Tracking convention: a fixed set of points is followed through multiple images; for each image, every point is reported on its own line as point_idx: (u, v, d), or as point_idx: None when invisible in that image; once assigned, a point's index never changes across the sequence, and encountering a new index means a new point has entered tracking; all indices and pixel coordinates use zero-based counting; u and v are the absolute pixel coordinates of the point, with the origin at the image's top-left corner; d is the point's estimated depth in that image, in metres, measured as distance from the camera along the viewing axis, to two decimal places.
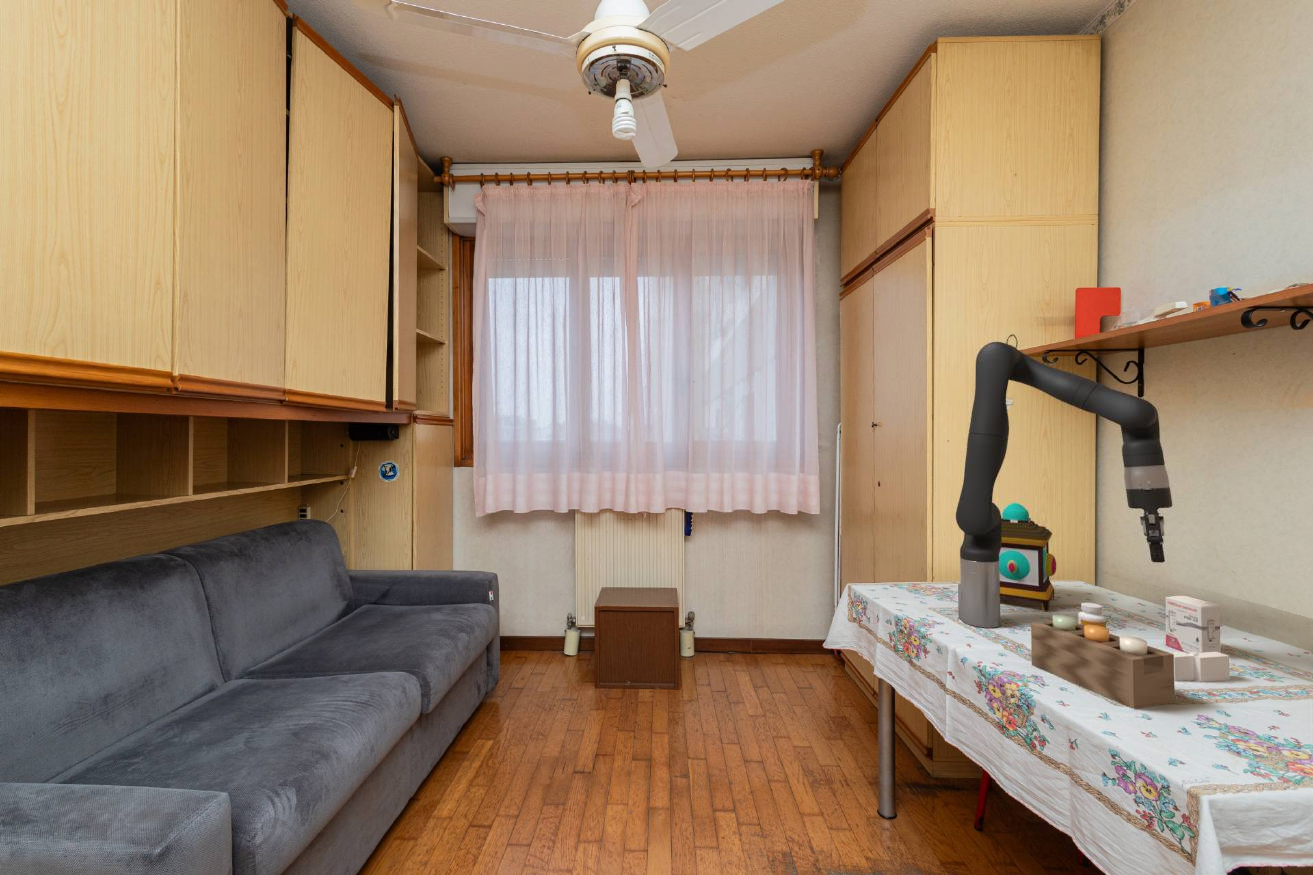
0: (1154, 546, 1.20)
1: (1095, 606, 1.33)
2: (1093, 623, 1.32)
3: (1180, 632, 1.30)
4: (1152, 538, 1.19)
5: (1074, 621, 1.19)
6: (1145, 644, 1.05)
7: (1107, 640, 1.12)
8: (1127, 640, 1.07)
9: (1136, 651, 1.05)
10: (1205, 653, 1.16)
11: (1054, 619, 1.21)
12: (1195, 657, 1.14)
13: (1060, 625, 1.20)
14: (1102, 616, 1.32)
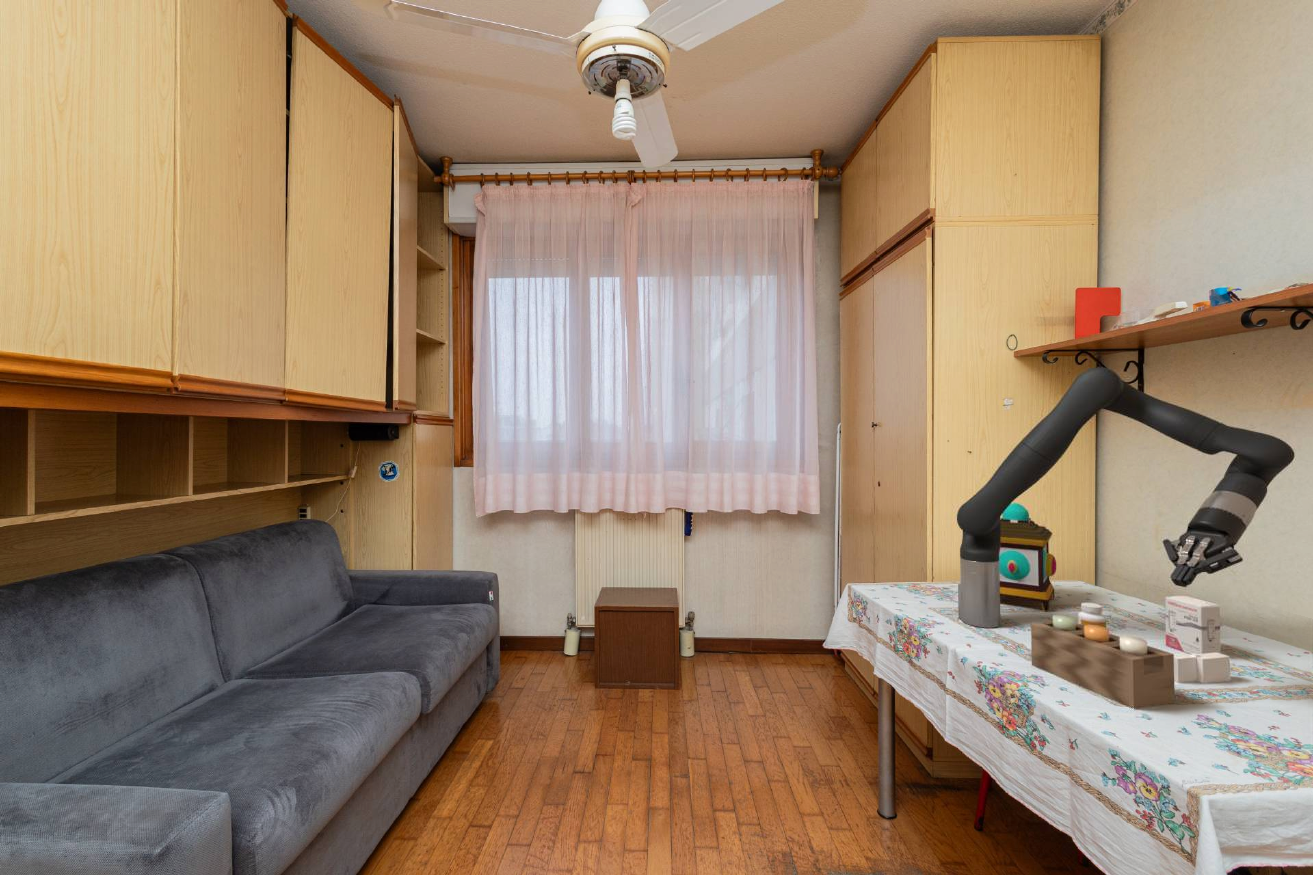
0: (1195, 571, 1.09)
1: (1095, 606, 1.33)
2: (1093, 623, 1.32)
3: (1180, 632, 1.30)
4: (1209, 565, 1.08)
5: (1074, 621, 1.19)
6: (1145, 644, 1.05)
7: (1107, 640, 1.12)
8: (1127, 640, 1.07)
9: (1136, 651, 1.05)
10: (1206, 654, 1.15)
11: (1054, 619, 1.21)
12: (1197, 658, 1.14)
13: (1060, 625, 1.20)
14: (1102, 616, 1.32)
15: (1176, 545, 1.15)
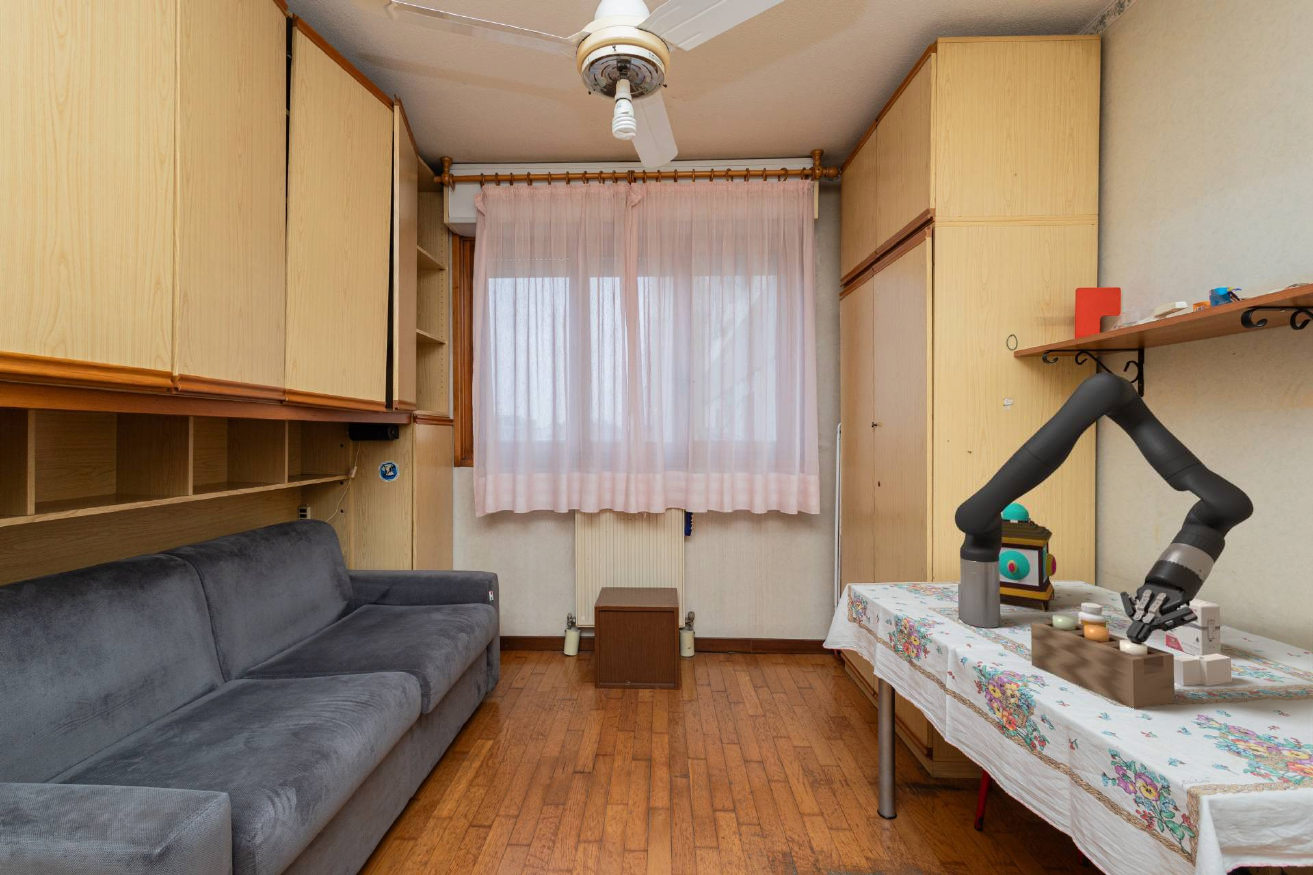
0: (1150, 628, 1.06)
1: (1095, 606, 1.33)
2: (1093, 623, 1.32)
3: (1180, 632, 1.30)
4: (1164, 622, 1.05)
5: (1074, 621, 1.19)
6: (1145, 648, 1.05)
7: (1107, 640, 1.12)
8: (1127, 644, 1.07)
9: (1136, 654, 1.05)
10: (1208, 656, 1.14)
11: (1054, 619, 1.21)
12: (1201, 660, 1.13)
13: (1060, 625, 1.20)
14: (1102, 616, 1.32)
15: (1133, 598, 1.12)
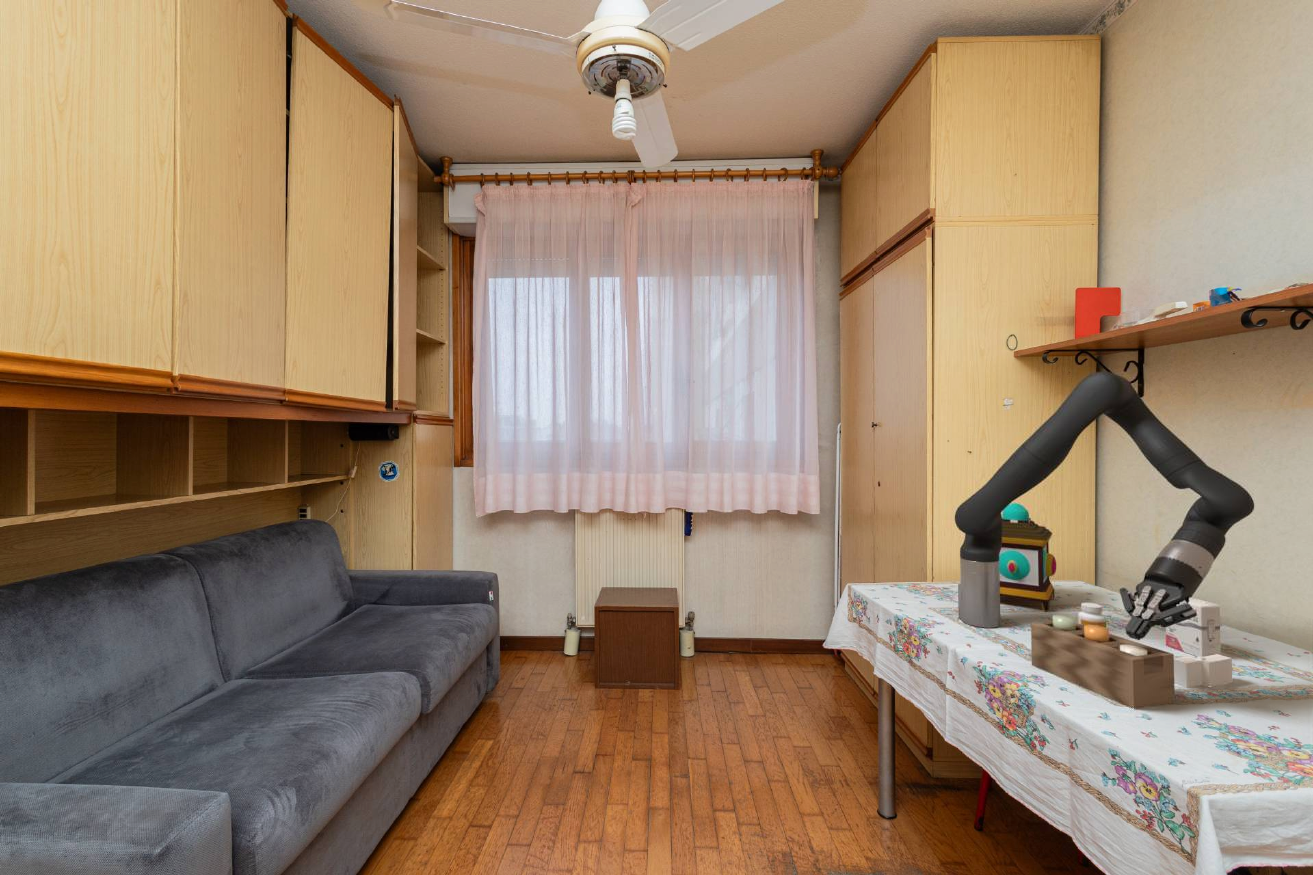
0: (1148, 624, 1.06)
1: (1095, 606, 1.33)
2: (1093, 623, 1.32)
3: (1180, 632, 1.30)
4: (1163, 619, 1.05)
5: (1074, 621, 1.19)
6: (1145, 653, 1.05)
7: (1107, 640, 1.12)
8: (1127, 649, 1.07)
9: None
10: (1209, 657, 1.14)
11: (1054, 619, 1.21)
12: (1203, 662, 1.12)
13: (1060, 625, 1.20)
14: (1102, 616, 1.32)
15: (1132, 594, 1.13)
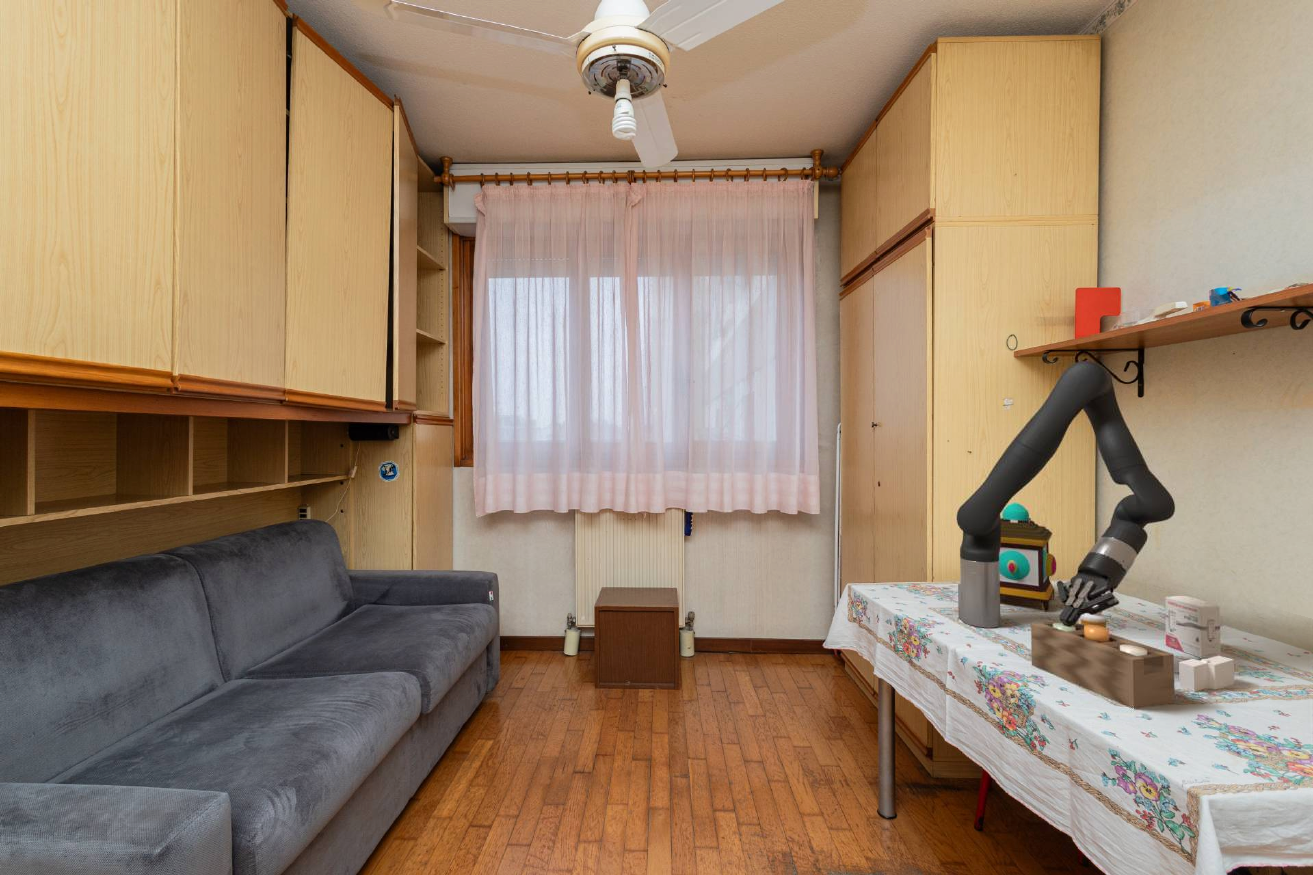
0: (1079, 612, 1.20)
1: (1095, 606, 1.33)
2: (1093, 623, 1.32)
3: (1180, 632, 1.30)
4: (1091, 607, 1.18)
5: (1074, 629, 1.19)
6: (1145, 653, 1.05)
7: (1107, 640, 1.12)
8: (1127, 649, 1.07)
9: None
10: (1213, 659, 1.13)
11: (1054, 627, 1.21)
12: (1208, 664, 1.11)
13: None
14: (1102, 616, 1.32)
15: (1067, 586, 1.26)
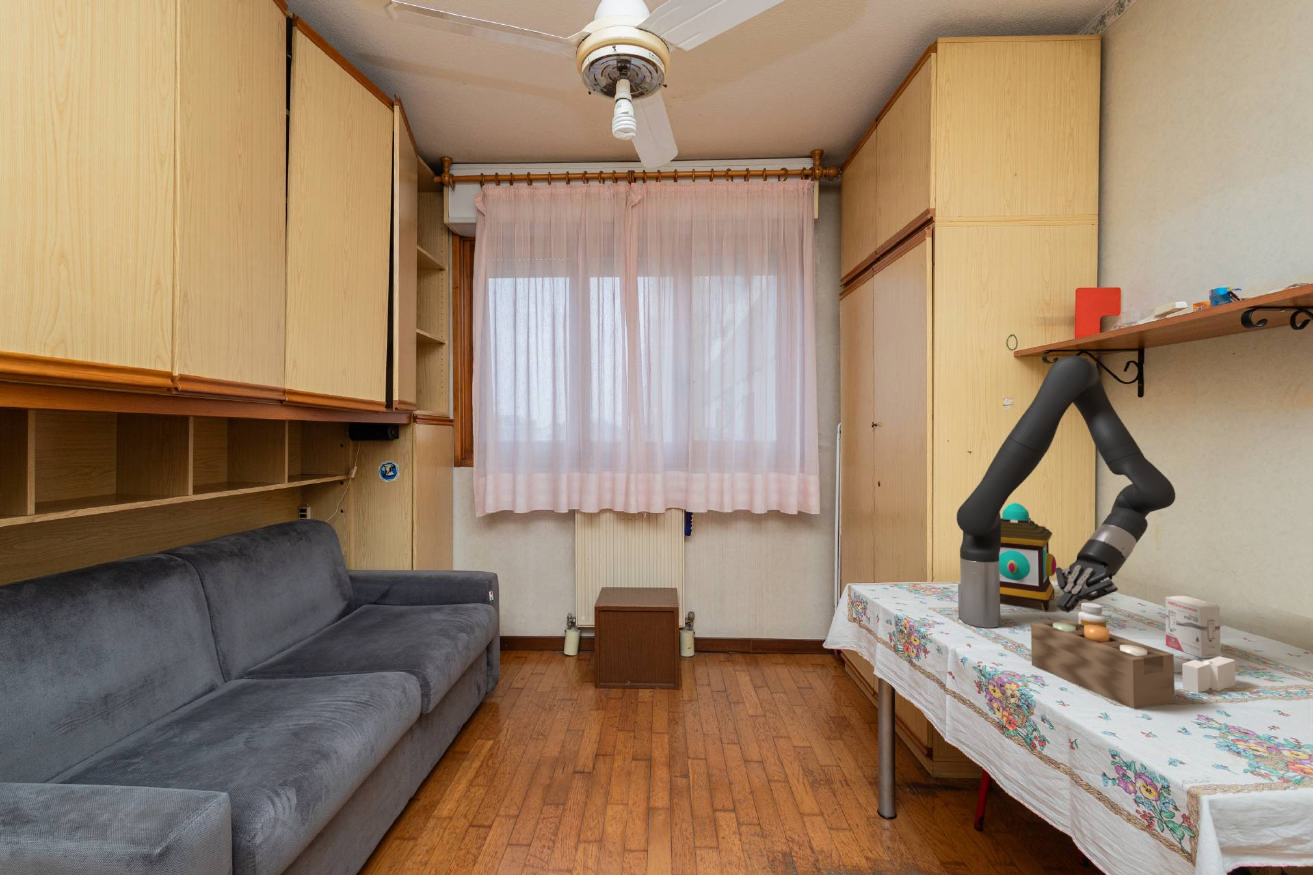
0: (1077, 598, 1.20)
1: (1095, 606, 1.33)
2: (1093, 623, 1.32)
3: (1180, 632, 1.30)
4: (1089, 593, 1.19)
5: (1074, 629, 1.19)
6: (1145, 653, 1.05)
7: (1107, 640, 1.12)
8: (1127, 649, 1.07)
9: None
10: (1214, 660, 1.12)
11: (1054, 627, 1.21)
12: (1211, 665, 1.10)
13: None
14: (1102, 616, 1.32)
15: (1066, 573, 1.26)
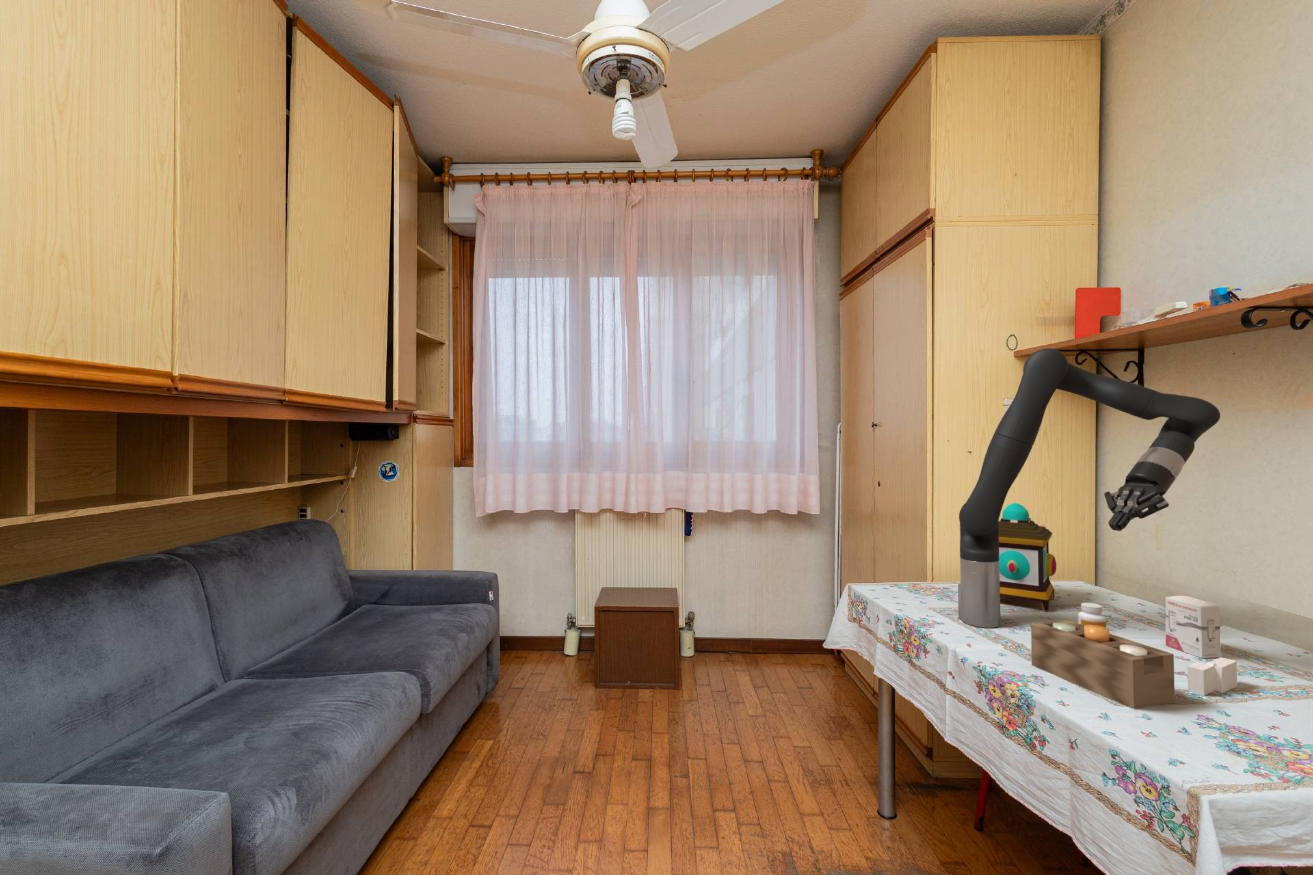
0: (1128, 516, 1.23)
1: (1095, 606, 1.33)
2: (1093, 623, 1.32)
3: (1180, 632, 1.30)
4: (1140, 511, 1.22)
5: (1074, 629, 1.19)
6: (1145, 653, 1.05)
7: (1107, 640, 1.12)
8: (1127, 649, 1.07)
9: None
10: (1217, 661, 1.11)
11: (1054, 627, 1.21)
12: (1215, 667, 1.09)
13: None
14: (1102, 616, 1.32)
15: (1115, 496, 1.30)
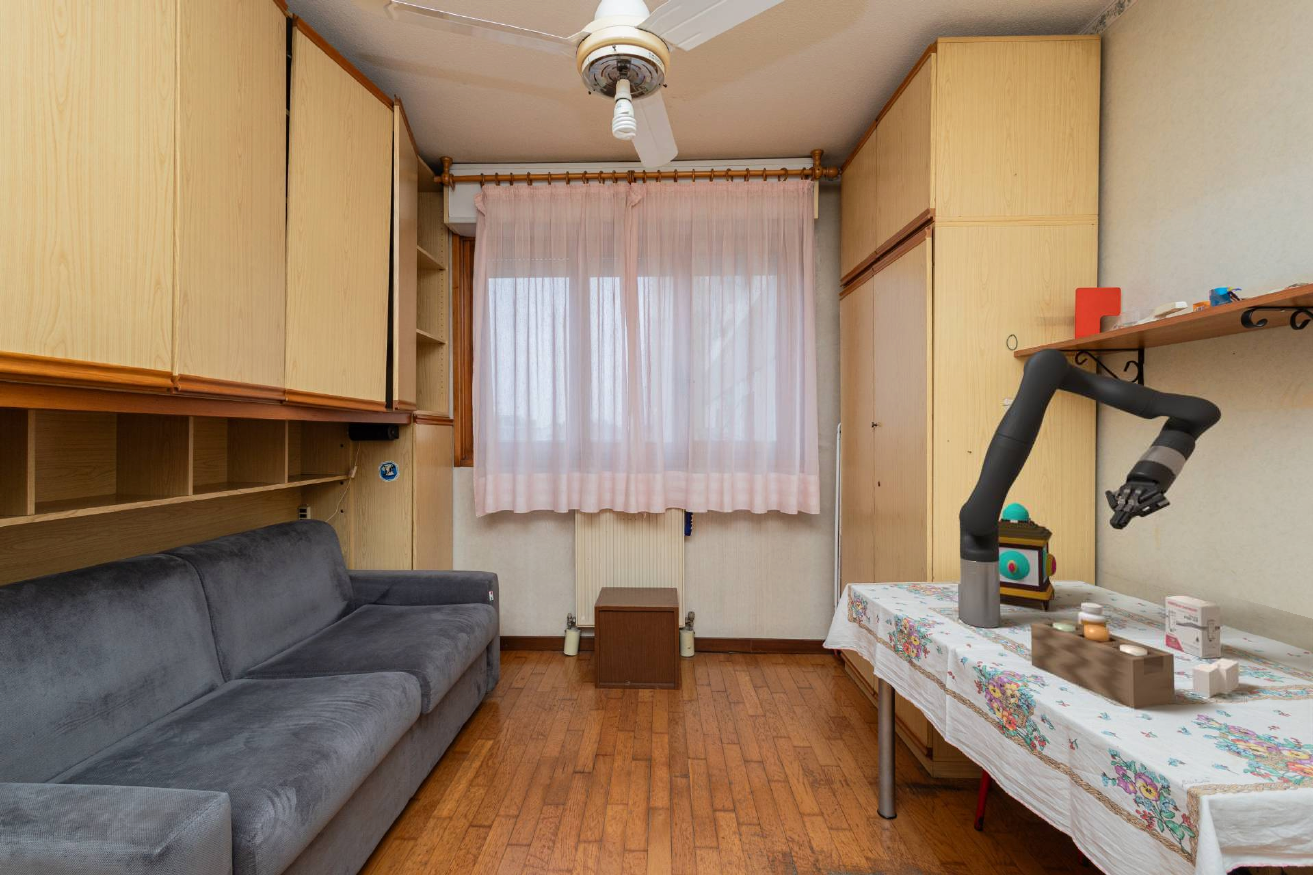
0: (1129, 515, 1.24)
1: (1095, 606, 1.33)
2: (1093, 623, 1.32)
3: (1180, 632, 1.30)
4: (1142, 509, 1.22)
5: (1074, 629, 1.19)
6: (1145, 653, 1.05)
7: (1107, 640, 1.12)
8: (1127, 649, 1.07)
9: None
10: (1220, 662, 1.11)
11: (1054, 627, 1.21)
12: (1219, 669, 1.09)
13: None
14: (1102, 616, 1.32)
15: (1116, 495, 1.30)
